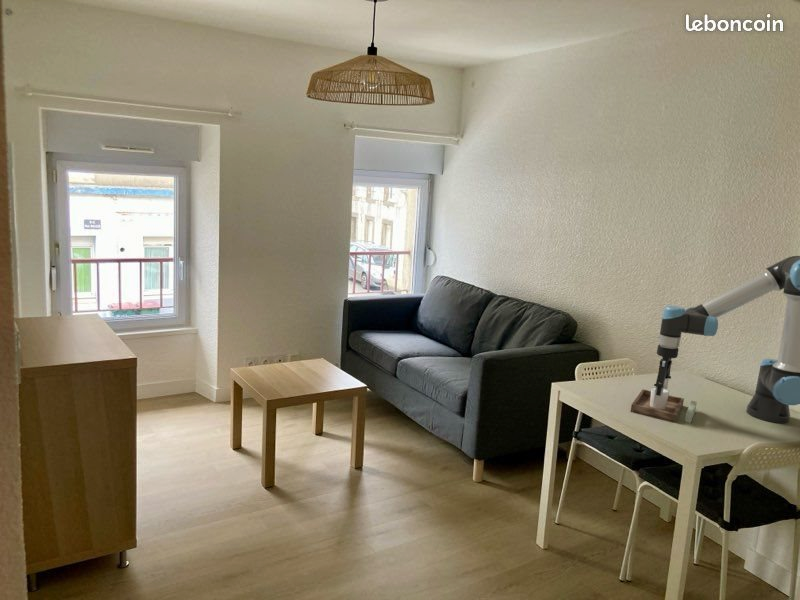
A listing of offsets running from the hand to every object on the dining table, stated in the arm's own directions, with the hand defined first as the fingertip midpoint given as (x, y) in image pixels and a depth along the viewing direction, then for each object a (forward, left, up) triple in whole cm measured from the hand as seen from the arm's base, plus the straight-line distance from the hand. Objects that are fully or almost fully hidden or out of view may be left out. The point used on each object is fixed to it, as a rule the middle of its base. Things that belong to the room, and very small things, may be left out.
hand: (659, 398), depth 252 cm
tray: (0, 0, -4) cm, 4 cm away
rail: (-12, 0, -4) cm, 13 cm away
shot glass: (0, 0, -4) cm, 4 cm away
